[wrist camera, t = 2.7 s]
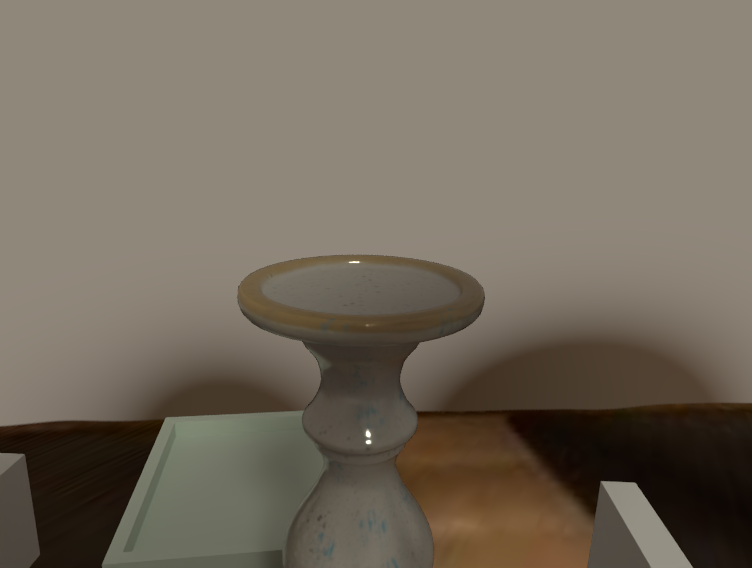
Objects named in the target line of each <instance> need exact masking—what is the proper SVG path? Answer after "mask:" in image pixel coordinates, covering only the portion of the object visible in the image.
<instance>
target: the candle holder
mask: <svg viewBox="0 0 752 568" xmlns="http://www.w3.org/2000/svg"><path fill="white" fill-rule="evenodd" d="M484 300H485V296H484V290H483V287H482V286H481V285H480V284H479V283H478V281H477V280H476V279H474V278H473V277H472V276H470V275H469V274H467V273H465V272H463V271H461V270H458V269H455V268H452V267H449V266H446V265H442V264H439V263H434V262H429V261H424V260H418V259H412V258H403V257H394V256H379V255H333V256H319V257H310V258H302V259H296V260H290V261H286V262H281V263H277V264H273V265H269V266H267V267H264V268H261V269H259V270H257V271H255V272H253V273H251V274H250V275H248V276H247V277H246V278H245V279H244V280H243V281H242V282H241V284H240V285H239V287H238V304H239V307H240V309H241V311H242V313H243V315H244V316H246V318H247V319H249V320H250V321H251V322H252V323H253V324H254V325H256V326H258V327H259V328H261V329H263V330H266V331H268V332H271V333H273V334H276V335H279V336H283V337H286V338H290V339H294V340H299V341H302V342H303V343H304V345H305V347H306V348H307V349H308V350H309V351H310V352H311V353H312V354H313V355H314V357H315V358H316V360H317V362H318V364H319V368H320V372H321V383H320V387H319V389H318V392H317V394H316V396H315V397H314V399H313V400H312V401H311V402H310V403H309V404H308V406H307V407H306V408H305V410H304V413H303V416H302V426H303V430H304V432H305V434H306V435H307V436H308V438H309V439H310V440H311V441H313V442H314V445H315V447H316V449H317V450H318V451H319V452H320V453H321V455H322V457H323V461H324V464H323V468H322V470H321V472H320V474H319V476H318V478H317V480H316V482H315V483H314V485H313V486H312V487H311V489H310V490H309V491H308V492H307V494H306V495H305V496H304V498H303V499H302V500H301V502H300V503H299V505H298V506H297V508H296V510H295V511H294V513H293V515H292V517H291V518H290V521H289V524H288V526H287V529H286V532H285V535H284V541H283V548H282V559H283V568H433V562H434V542H433V537H432V532H431V529H430V526H429V523H428V521H427V518H426V516H425V514H424V512H423V511H422V509H421V507H420V506H419V504H418V503H417V501H416V500H415V498H414V497H413V495H412V494H411V493H410V491H409V490H408V489H407V487H406V486H405V484H404V483H403V481H402V479H401V477H400V475H399V473H398V471H397V468H396V465H395V462H396V458H397V456H398V454H399V453H400V452H401V451H402V449H403V448H404V446H405V444H406V442H407V441H409V440H410V439H411V438H412V436H413V435H414V434H415V432H416V429H417V426H418V416H417V413H416V411H415V409H414V408H413V406H412V405H411V404H410V403H409V401H408V400H407V399H406V397H405V395H404V393H403V390H402V388H401V384H400V374H401V370H402V367H403V363H404V361H405V360H406V358H407V357H408V356H409V355H410V354H411V353H412V352H413V351H414V350H415V349H416V347H417V346H418V344H419V343H420V342H424V341H429V340H434V339H438V338H441V337H445V336H448V335H451V334H454V333H456V332H458V331H460V330H463V329H464V328H466V327H467V326H469V325H470V324H472V323H473V322H474V321H475V320H476V319H477V318H478V317H479V315H480V314H481V312H482V309H483V305H484Z"/></svg>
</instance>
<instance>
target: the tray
mask: <svg viewBox="0 0 752 568" xmlns="http://www.w3.org/2000/svg"><path fill="white" fill-rule="evenodd" d="M303 413H304V411H289V412H269V413H250V414H228V415H210V416H209V415H208V416H188V417H169V418H166V419H165V421H164V423H163V426H162V428H161V430H160V432H159V435H158V437H157V439H156V442H155V444H154V446H153V449H152V451H151V453H150V455H149V458H148V460H147V462H146V465H145V467H144V469H143V471H142V474H141V476H140V478H139V481H138V483H137V485H136V488H135V490H134V492H133V494H132V497H131V499H130V501H129V504H128V506H127V508H126V511H125V513H124V515H123V517H122V520H121V522H120V524H119V527H118V529H117V531H116V533H115V536H114V538H113V540H112V543H111V545H110V547H109V550H108V552H107V554H106V556H105V559H104V561H103V563H102V568H283V559H282V548H283V541H284V535H285V532H286V529H287V526H288V524H289V521H290V518H291V517H292V515H293V513H294V511H295V510H296V508H297V506H298V505H299V503H300V502H301V500H302V499H303V498H304V496H305V495H306V494H307V492H308V491H309V490H310V489H311V487H312V486H313V485H314V483H315V482H316V480H317V478H318V476H319V474H320V472H321V470H322V468H323V464H324V461H323V457H322V455H321V453H320V452H319V451H318V450H317V449H316V447H315V445H314V442H313V441H311V440H310V439H309V438H308V436H307V435H306V434H305V432H304V430H303V426H302V416H303Z"/></svg>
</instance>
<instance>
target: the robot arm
mask: <svg viewBox="0 0 752 568" xmlns="http://www.w3.org/2000/svg"><path fill="white" fill-rule="evenodd" d="M39 555H40V551H39V545H38V538H37V532H36V525H35V518H34V512H33V505H32V499H31V492H30V486H29V479H28V473H27V466H26V460H25V454H9V453H0V568H29V567H30V566H31V565H32V563H33V562H34V561H35V560H36V559H37V558H38V556H39ZM587 568H693V567H692V566H691V564H690V563H689V561H688V560H687V558H686V557H685V555H684V554H683V552H682V551H681V549H680V548H679V546H678V545H677V543H676V542H675V541H674V539H673V538H672V536H671V535H670V533H669V532H668V530H667V529H666V527H665V526H664V524H663V523H662V521H661V520H660V518H659V517H658V515H657V514H656V512H655V511H654V509H653V508H652V506H651V505H650V504H649V502H648V501H647V499H646V498H645V496H644V495H643V493H642V492H641V490H640V489H639V487H638V486H637V484H636V483H629V482H608V481H601V484H600V490H599V497H598V503H597V509H596V516H595V522H594V528H593V535H592V541H591V547H590V554H589V560H588V566H587Z"/></svg>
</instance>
